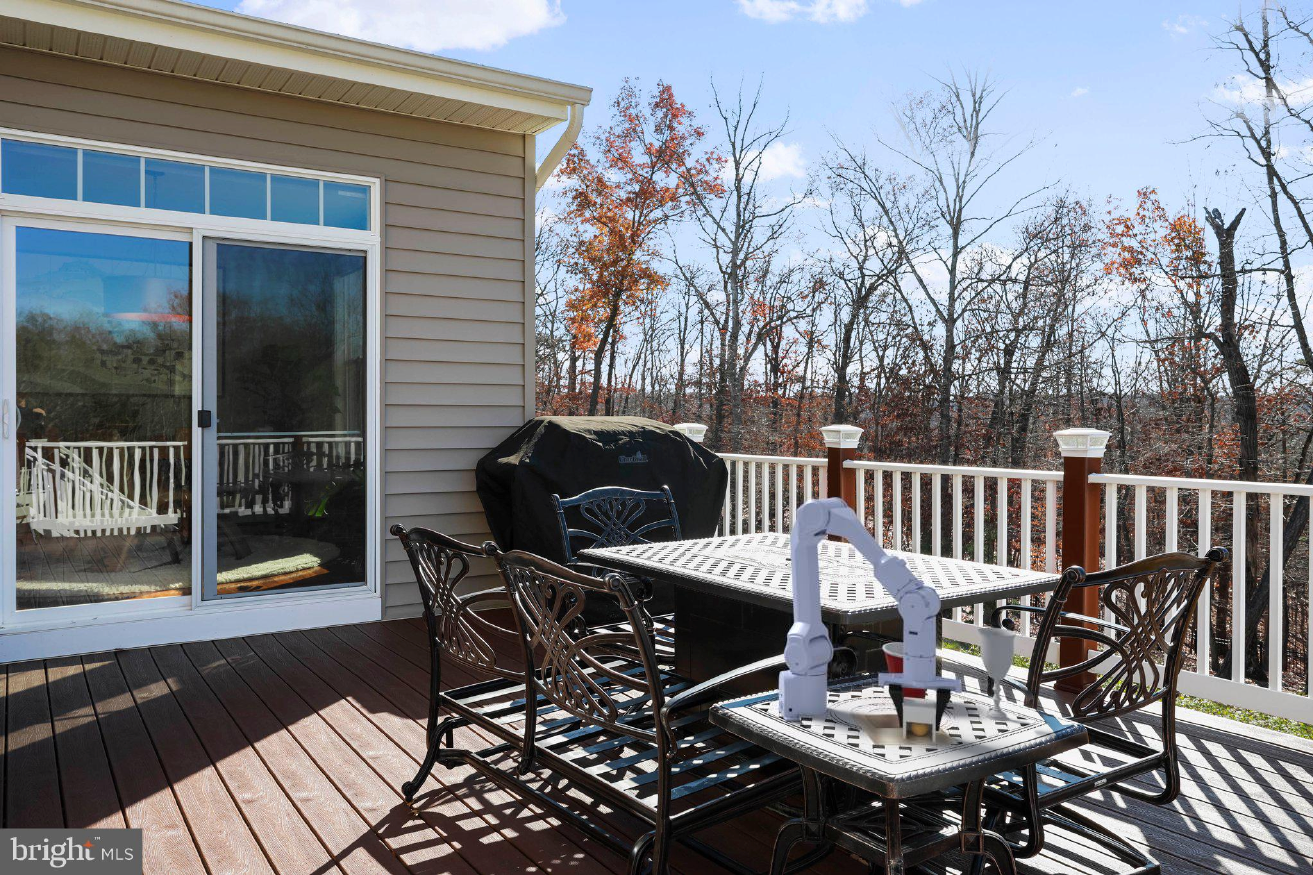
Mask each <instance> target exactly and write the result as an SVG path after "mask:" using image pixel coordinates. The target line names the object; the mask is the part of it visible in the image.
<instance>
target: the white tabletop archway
mask: <svg viewBox="0 0 1313 875" xmlns="http://www.w3.org/2000/svg"><path fill="white" fill-rule="evenodd" d="M912 722H916V723H926V724H927V726H928V731H927V732H929V733H932V740H933V742H935V728H936V700H935V699H928V698H925V699H919V698H908V697H904V702H903V739H906V731H907V730H909V731H912V730H911V723H912Z"/></svg>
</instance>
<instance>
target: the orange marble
mask: <svg viewBox="0 0 1313 875" xmlns="http://www.w3.org/2000/svg"><path fill="white" fill-rule="evenodd" d="M911 730H912V732H913V733H914V734H915V735H917V736H923V735H925V734H926V733H927V731H928V726H927V724H926V723H916V722H912V723H911Z"/></svg>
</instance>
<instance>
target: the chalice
mask: <svg viewBox="0 0 1313 875" xmlns="http://www.w3.org/2000/svg"><path fill="white" fill-rule="evenodd" d="M977 631H978V634H979V635H980V657H981V660H982V663H983V666H984V668H985V670H986V672H987V674H988V676H989V677H990V678H991V679H993V687H992V688H991V689H992V691H993V693H994V695H993V697H992V700H993V703H994V705H993V707H992V709H989V710H988V711H987V712H986V715H985V717H986V719H989V720H992V721H999V722H1006V721H1008V720H1009V718H1008V714H1007V713H1006V712H1005V711H1004V710H1002V709H1001V707H1000V703H1001V701H1002V698H1001V696H1000V692H1001V691H1002V688H1001V685H1000V683H1001V682H1000V681H1001V680H1003V679H1005V678H1006V676H1007V674H1008V673H1009V670H1010V669H1011V666H1012V663H1013V662H1014V651H1015V650H1014V639H1015V638H1016V635H1017V632H1015V631H1013V630H1010V629H1007V628H1005V629H1004V628H999V627H981V628H979V629H977Z"/></svg>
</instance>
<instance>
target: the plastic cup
mask: <svg viewBox="0 0 1313 875" xmlns="http://www.w3.org/2000/svg"><path fill="white" fill-rule="evenodd" d="M903 644H904V642H889V643H885V644H883V645H882V646H881V647H882V650H883V652H884V655H885V656H884V657H885V659H886V663H887V668H888V670H887V671H888V674H894V673H903ZM927 691H928V689H919V688H908V687H903V702H904V697H908V698H919V699H926V695H927V694H926V693H927Z"/></svg>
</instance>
